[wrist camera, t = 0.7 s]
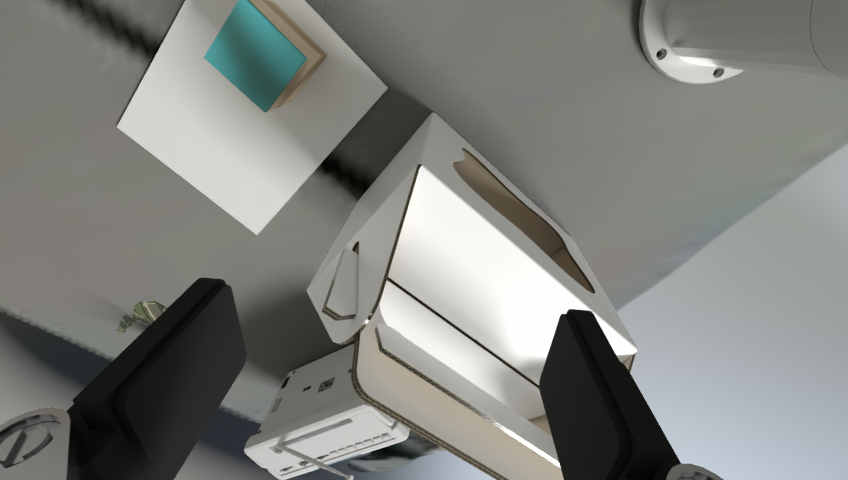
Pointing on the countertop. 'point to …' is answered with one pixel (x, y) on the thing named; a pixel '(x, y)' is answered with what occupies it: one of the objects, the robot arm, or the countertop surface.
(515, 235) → the gable box
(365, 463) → the countertop surface
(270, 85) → the block
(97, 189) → the countertop surface
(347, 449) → the stereo radio cassette player
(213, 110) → the mat
